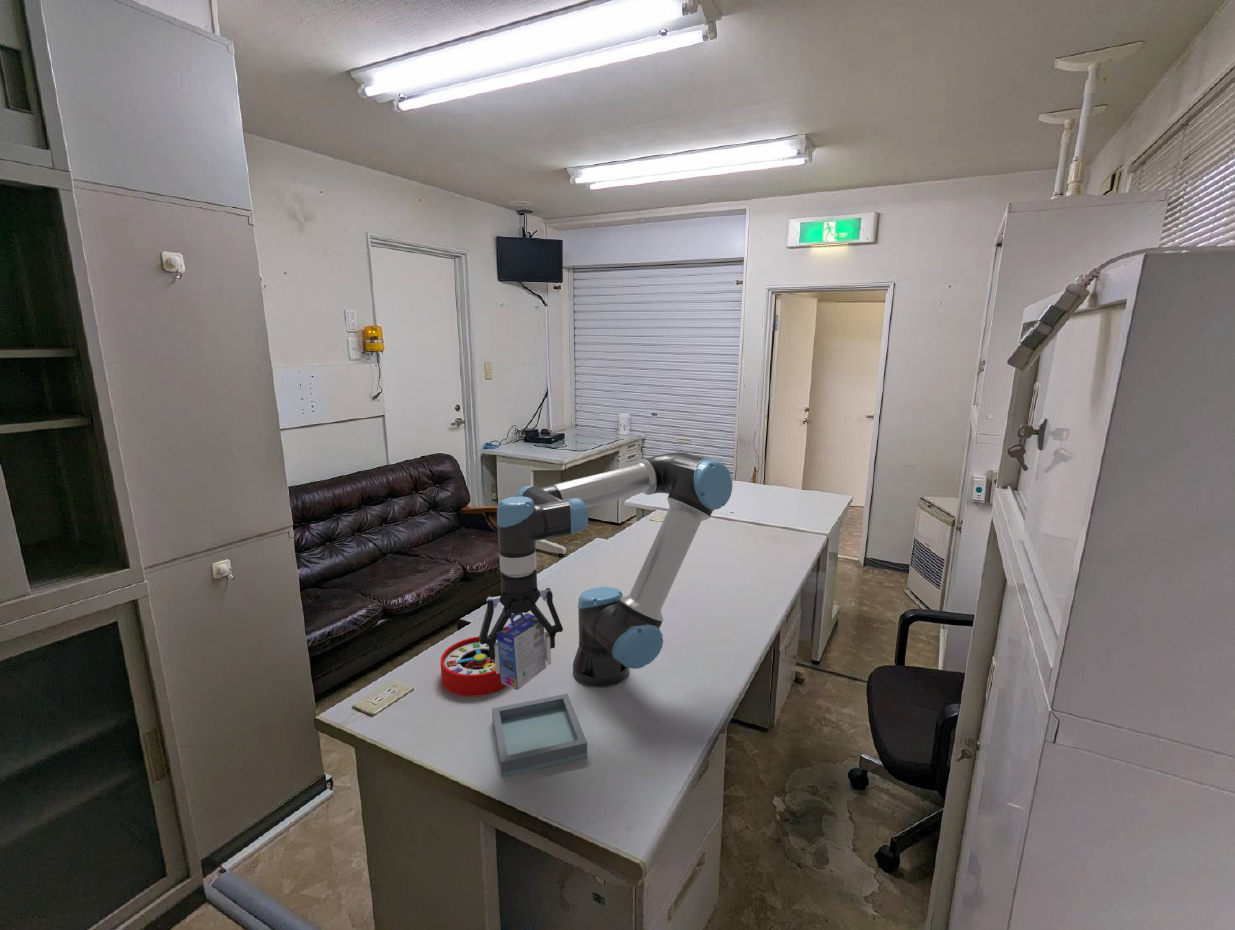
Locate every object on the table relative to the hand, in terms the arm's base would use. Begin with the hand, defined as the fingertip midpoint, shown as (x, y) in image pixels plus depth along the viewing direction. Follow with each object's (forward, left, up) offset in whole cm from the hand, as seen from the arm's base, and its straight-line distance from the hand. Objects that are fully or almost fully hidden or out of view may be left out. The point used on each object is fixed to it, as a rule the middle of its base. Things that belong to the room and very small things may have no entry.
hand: (523, 665), depth 119 cm
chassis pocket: (-2, +2, -18) cm, 18 cm away
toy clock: (+8, -28, -18) cm, 35 cm away
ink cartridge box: (0, 0, -3) cm, 3 cm away
